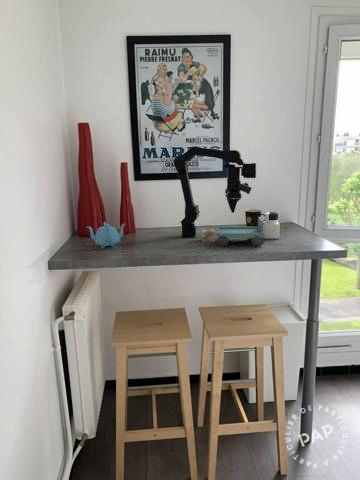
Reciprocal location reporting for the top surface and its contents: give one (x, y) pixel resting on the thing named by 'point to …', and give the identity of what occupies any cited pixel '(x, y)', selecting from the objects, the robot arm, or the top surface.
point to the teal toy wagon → (241, 234)
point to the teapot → (107, 235)
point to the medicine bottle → (271, 226)
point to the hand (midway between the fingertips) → (232, 210)
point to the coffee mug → (252, 217)
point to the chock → (208, 235)
